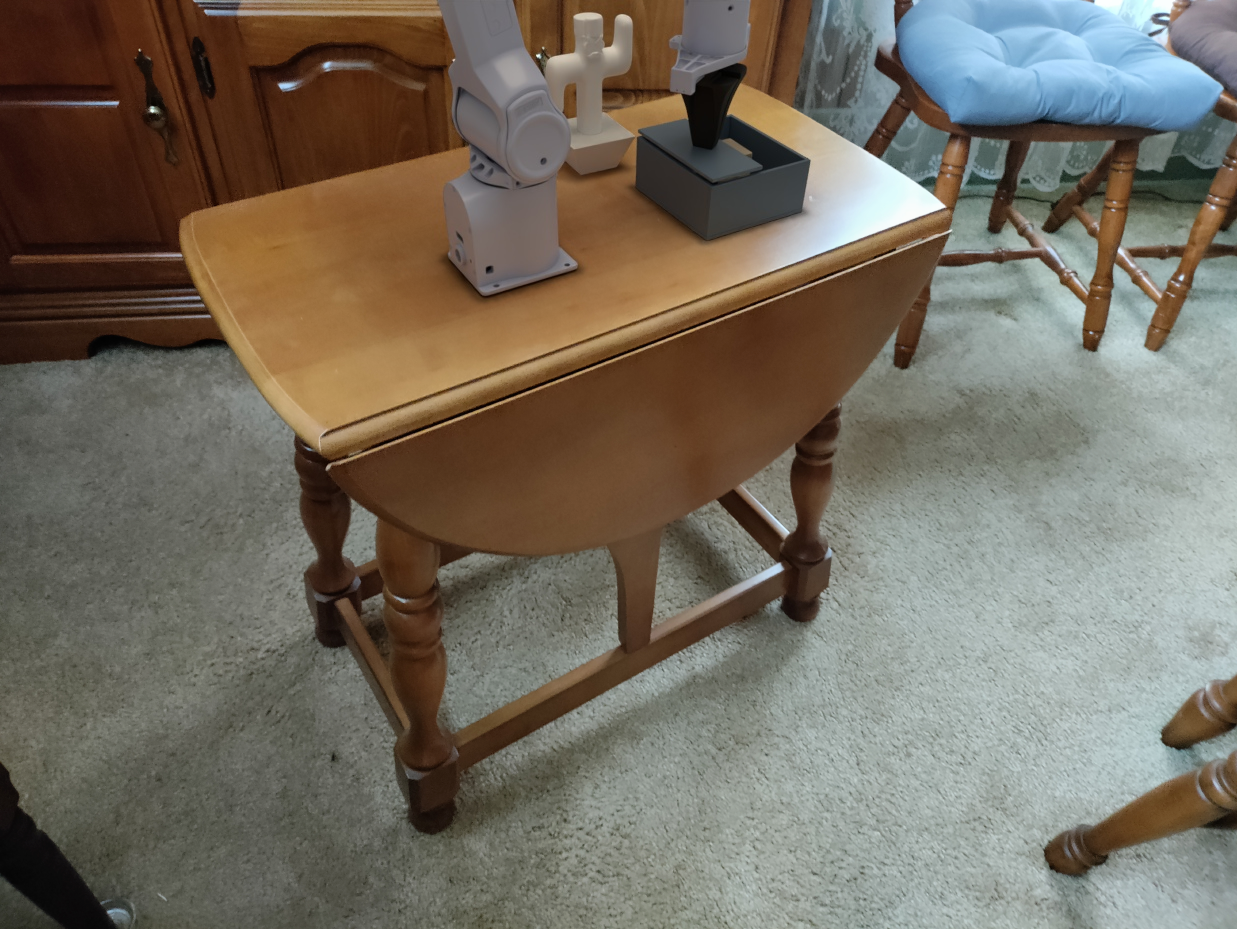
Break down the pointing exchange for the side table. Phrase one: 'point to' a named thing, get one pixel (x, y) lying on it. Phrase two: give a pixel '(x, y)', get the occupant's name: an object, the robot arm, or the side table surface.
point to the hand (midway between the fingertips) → (704, 145)
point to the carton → (726, 184)
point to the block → (740, 149)
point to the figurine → (592, 91)
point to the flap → (699, 152)
